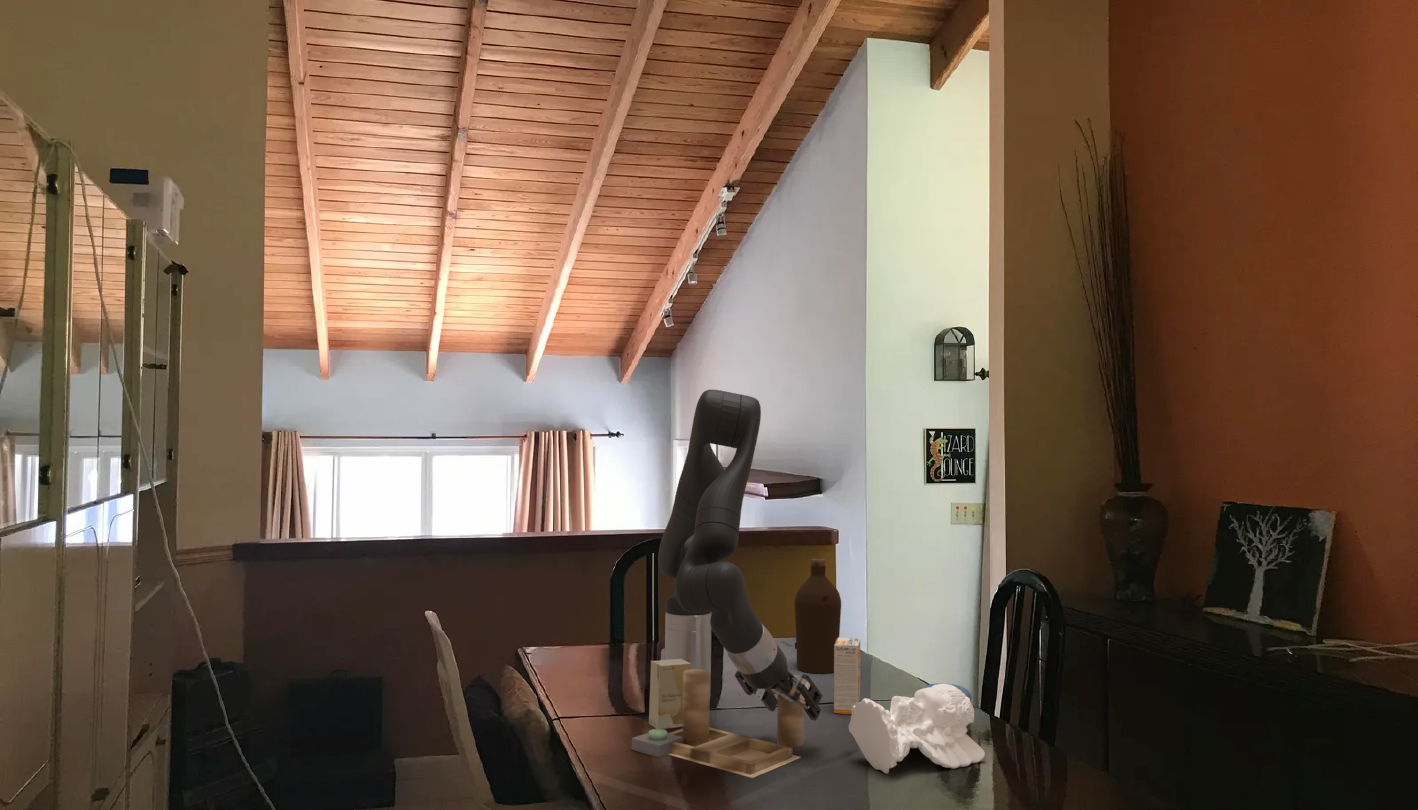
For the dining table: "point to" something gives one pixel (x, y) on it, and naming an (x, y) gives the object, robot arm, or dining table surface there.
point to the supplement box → (846, 674)
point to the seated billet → (696, 706)
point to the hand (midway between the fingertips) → (794, 711)
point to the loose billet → (790, 721)
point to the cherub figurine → (917, 728)
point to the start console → (655, 742)
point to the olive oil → (817, 621)
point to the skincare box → (667, 693)
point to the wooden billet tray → (735, 753)
